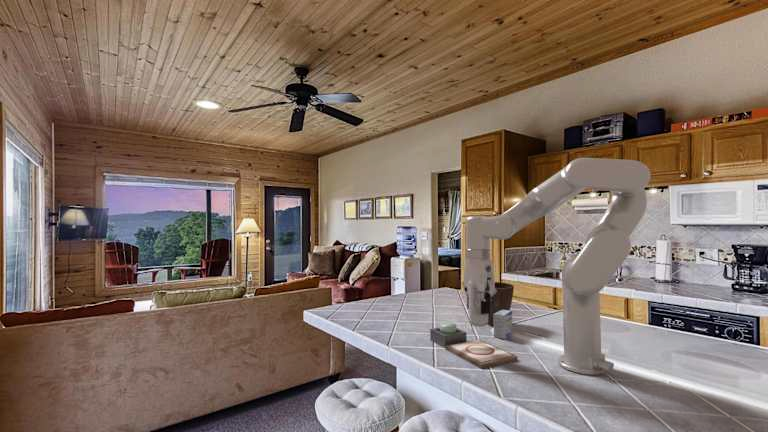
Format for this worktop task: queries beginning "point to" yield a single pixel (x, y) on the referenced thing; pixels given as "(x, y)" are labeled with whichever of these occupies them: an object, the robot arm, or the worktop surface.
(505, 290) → the plant pot
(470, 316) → the energy drink can
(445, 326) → the button
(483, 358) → the sketch board
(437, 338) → the button housing
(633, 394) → the worktop surface
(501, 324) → the medicine box
